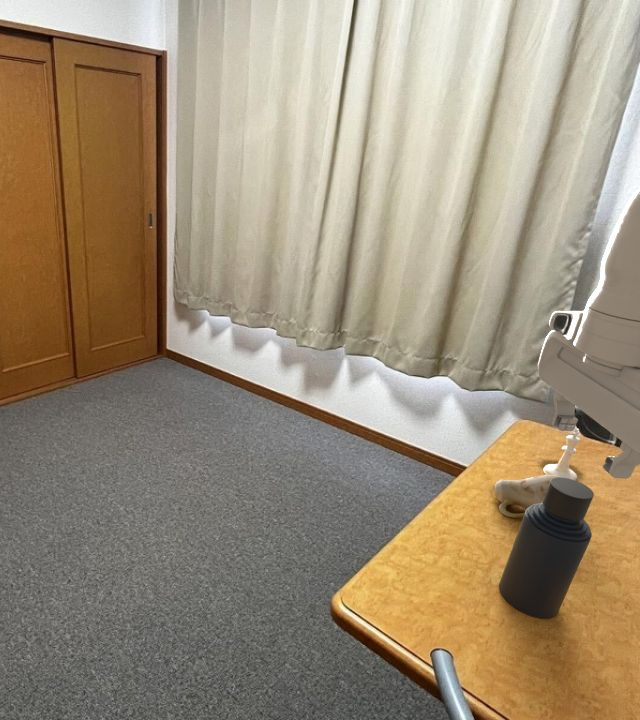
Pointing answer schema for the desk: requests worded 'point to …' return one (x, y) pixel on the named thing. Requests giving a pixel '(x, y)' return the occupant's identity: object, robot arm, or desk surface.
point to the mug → (522, 492)
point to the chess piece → (565, 459)
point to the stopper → (568, 498)
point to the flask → (543, 562)
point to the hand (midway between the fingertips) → (586, 449)
